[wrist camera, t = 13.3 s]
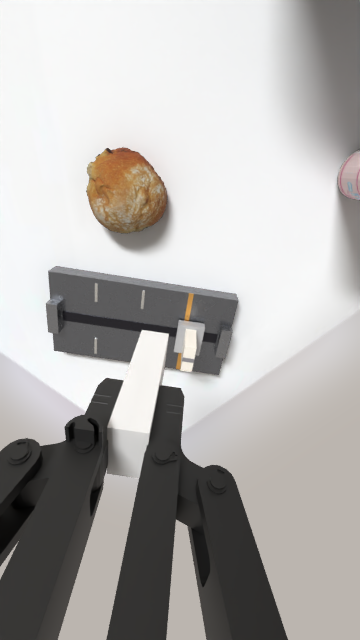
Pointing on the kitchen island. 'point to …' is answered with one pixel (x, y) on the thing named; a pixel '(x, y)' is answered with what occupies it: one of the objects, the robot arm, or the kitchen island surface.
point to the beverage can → (350, 176)
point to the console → (134, 316)
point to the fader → (188, 342)
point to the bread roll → (125, 191)
